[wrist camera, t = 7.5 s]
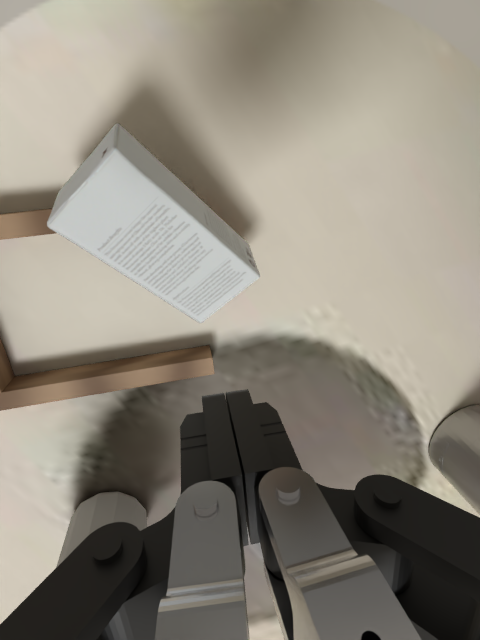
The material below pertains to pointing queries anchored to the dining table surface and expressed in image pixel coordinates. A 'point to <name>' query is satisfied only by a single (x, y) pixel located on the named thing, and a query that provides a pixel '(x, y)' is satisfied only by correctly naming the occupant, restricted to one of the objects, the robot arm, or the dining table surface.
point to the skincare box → (152, 228)
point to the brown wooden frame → (88, 379)
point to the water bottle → (102, 517)
